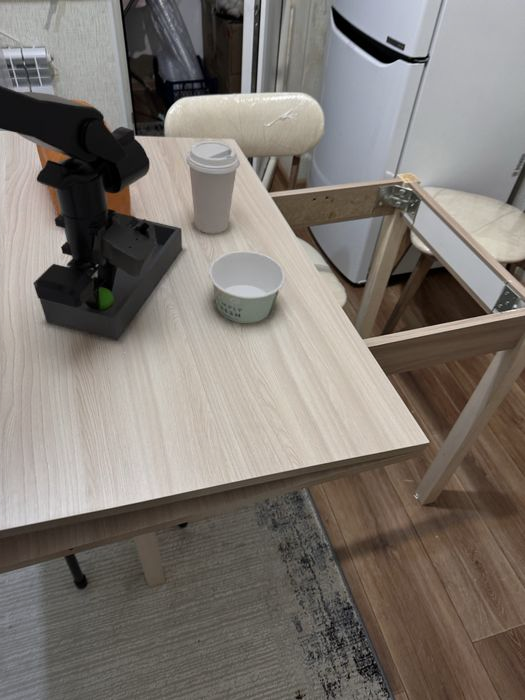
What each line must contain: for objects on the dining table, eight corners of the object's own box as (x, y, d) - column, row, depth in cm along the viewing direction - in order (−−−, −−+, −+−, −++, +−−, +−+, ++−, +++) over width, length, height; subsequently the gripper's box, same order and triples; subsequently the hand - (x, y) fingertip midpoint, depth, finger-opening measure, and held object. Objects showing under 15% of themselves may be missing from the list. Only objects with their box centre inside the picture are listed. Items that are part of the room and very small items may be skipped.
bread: (62, 234, 89) (42, 149, 78) (41, 170, 105) (22, 91, 94) (136, 223, 94) (128, 141, 83) (106, 163, 110) (95, 88, 99)
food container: (194, 313, 77) (194, 280, 73) (228, 274, 85) (230, 242, 81) (262, 339, 75) (266, 307, 70) (291, 296, 83) (296, 265, 78)
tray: (46, 322, 73) (39, 299, 70) (123, 235, 91) (120, 214, 87) (117, 341, 72) (114, 318, 68) (182, 249, 89) (181, 228, 86)
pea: (86, 312, 71) (82, 294, 69) (98, 298, 74) (94, 280, 71) (108, 318, 71) (105, 300, 69) (119, 303, 74) (116, 285, 71)
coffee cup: (198, 242, 91) (199, 165, 81) (179, 216, 97) (177, 141, 86) (243, 232, 95) (249, 158, 85) (223, 209, 101) (226, 136, 90)
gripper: (108, 262, 53) (123, 359, 64) (173, 188, 66) (176, 279, 77) (16, 240, 55) (47, 339, 66) (97, 171, 68) (112, 263, 79)
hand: (101, 302), depth 72 cm, fingers closed on pea, 3 cm apart
